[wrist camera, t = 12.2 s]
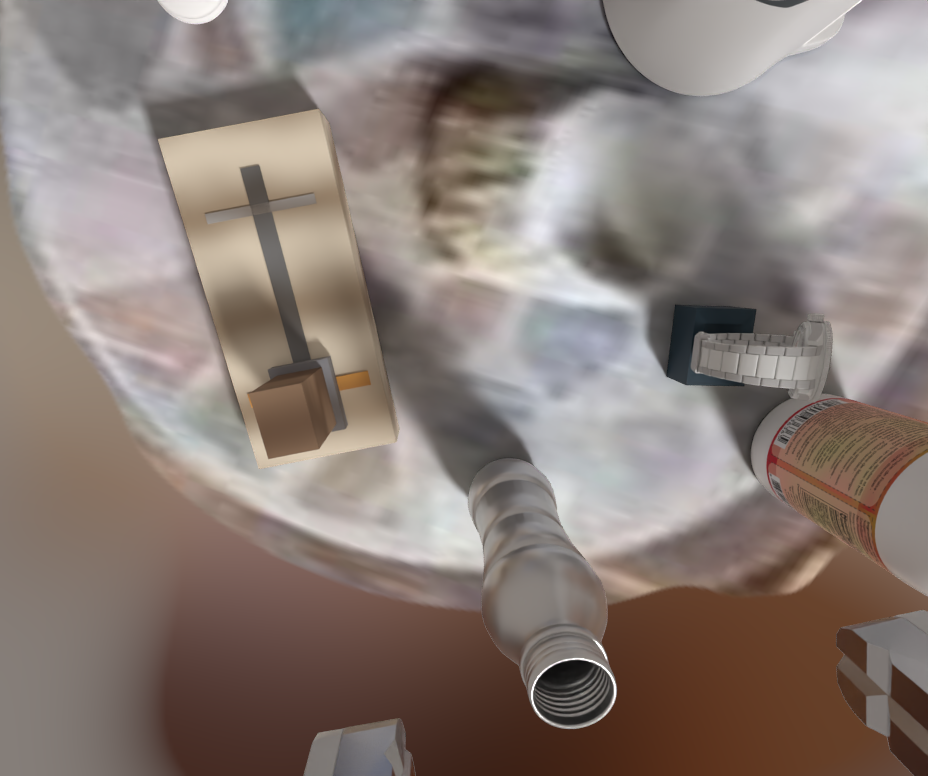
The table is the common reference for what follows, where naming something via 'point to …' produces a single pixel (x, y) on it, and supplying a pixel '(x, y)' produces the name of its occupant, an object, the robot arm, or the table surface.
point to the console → (282, 266)
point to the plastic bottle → (541, 595)
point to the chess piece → (194, 9)
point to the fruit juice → (852, 477)
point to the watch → (748, 351)
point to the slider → (298, 407)
